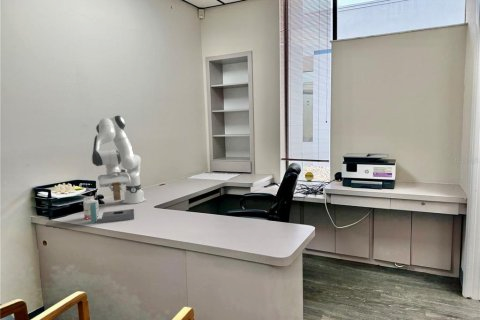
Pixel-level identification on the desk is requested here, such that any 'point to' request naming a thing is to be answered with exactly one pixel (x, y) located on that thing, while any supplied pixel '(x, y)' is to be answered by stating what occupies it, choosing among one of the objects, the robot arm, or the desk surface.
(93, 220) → the teal flat bit
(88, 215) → the ink cartridge box
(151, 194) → the desk surface
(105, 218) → the metal bore block
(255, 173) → the desk surface
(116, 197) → the walnut square bit
